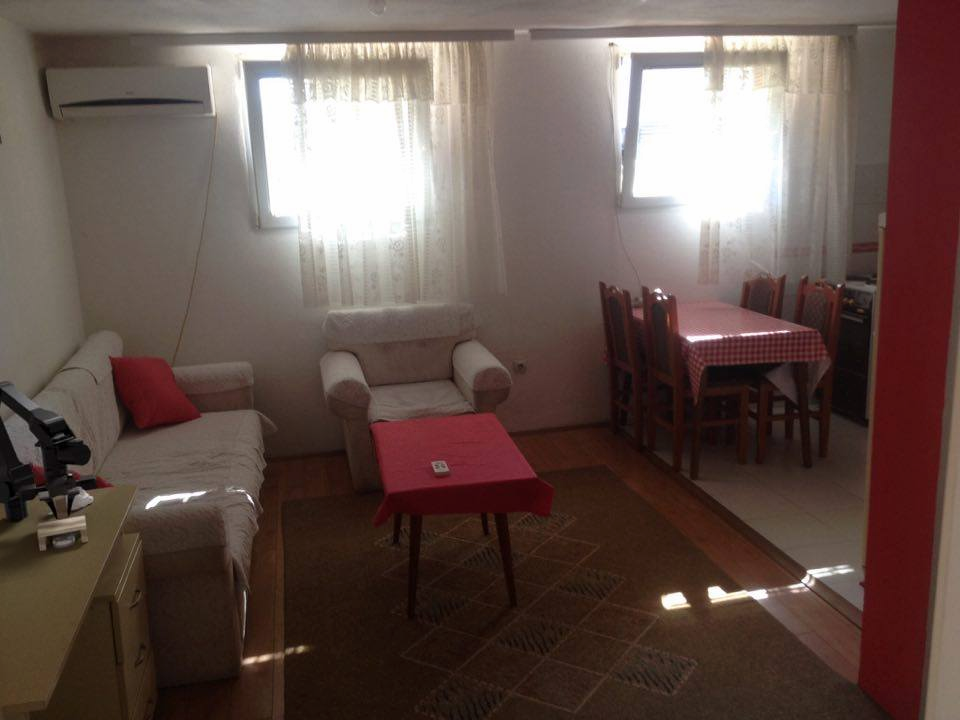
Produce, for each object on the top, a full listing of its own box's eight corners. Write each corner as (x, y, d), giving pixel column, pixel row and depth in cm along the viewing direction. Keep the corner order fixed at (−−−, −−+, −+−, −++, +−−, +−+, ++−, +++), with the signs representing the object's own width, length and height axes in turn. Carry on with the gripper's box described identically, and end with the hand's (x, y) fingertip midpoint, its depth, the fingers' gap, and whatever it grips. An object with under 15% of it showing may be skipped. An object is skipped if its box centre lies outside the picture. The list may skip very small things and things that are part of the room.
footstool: (40, 540, 216) (37, 523, 215) (87, 531, 221) (84, 515, 220) (40, 551, 209) (37, 534, 208) (88, 541, 214) (85, 525, 213)
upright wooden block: (53, 522, 228) (49, 498, 227) (74, 518, 231) (70, 494, 229) (53, 542, 214) (49, 516, 213) (76, 538, 217) (72, 512, 215)
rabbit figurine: (47, 515, 234) (43, 482, 232) (47, 507, 241) (42, 475, 239) (94, 507, 239) (90, 474, 238) (92, 499, 246) (88, 468, 244)
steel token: (53, 543, 214) (52, 537, 214) (75, 538, 217) (74, 533, 216) (53, 549, 210) (52, 544, 210) (75, 545, 212) (74, 539, 212)
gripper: (14, 477, 213) (23, 534, 216) (94, 464, 222) (102, 519, 225) (16, 465, 223) (24, 521, 226) (92, 453, 231) (99, 507, 234)
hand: (62, 517), depth 227 cm, fingers closed on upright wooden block, 2 cm apart
